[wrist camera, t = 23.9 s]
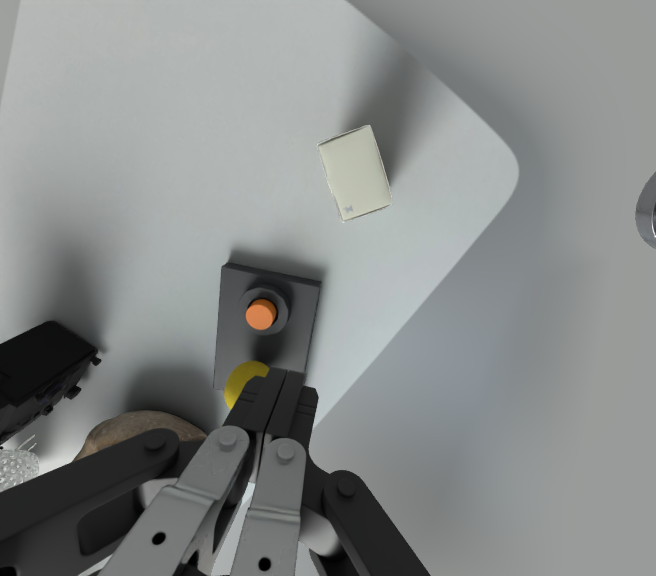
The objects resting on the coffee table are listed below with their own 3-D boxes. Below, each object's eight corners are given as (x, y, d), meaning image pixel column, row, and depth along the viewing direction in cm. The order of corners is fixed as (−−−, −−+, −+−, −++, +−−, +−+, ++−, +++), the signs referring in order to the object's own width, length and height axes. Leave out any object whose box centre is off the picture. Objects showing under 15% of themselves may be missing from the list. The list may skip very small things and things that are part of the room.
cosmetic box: (387, 195, 37) (396, 209, 25) (349, 208, 38) (342, 227, 26) (370, 135, 35) (371, 121, 23) (330, 150, 36) (314, 144, 24)
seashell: (36, 462, 45) (46, 566, 36) (128, 367, 48) (160, 439, 39) (133, 475, 57) (161, 557, 47) (203, 398, 60) (242, 460, 50)
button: (278, 301, 39) (274, 307, 37) (274, 325, 40) (271, 332, 39) (251, 296, 39) (246, 301, 37) (249, 320, 40) (244, 326, 39)
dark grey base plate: (321, 281, 41) (318, 291, 38) (300, 398, 47) (295, 415, 44) (227, 262, 41) (215, 270, 38) (218, 380, 48) (207, 396, 45)
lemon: (288, 365, 43) (272, 407, 36) (265, 392, 45) (245, 436, 38) (253, 341, 43) (229, 378, 35) (231, 369, 45) (204, 410, 37)
